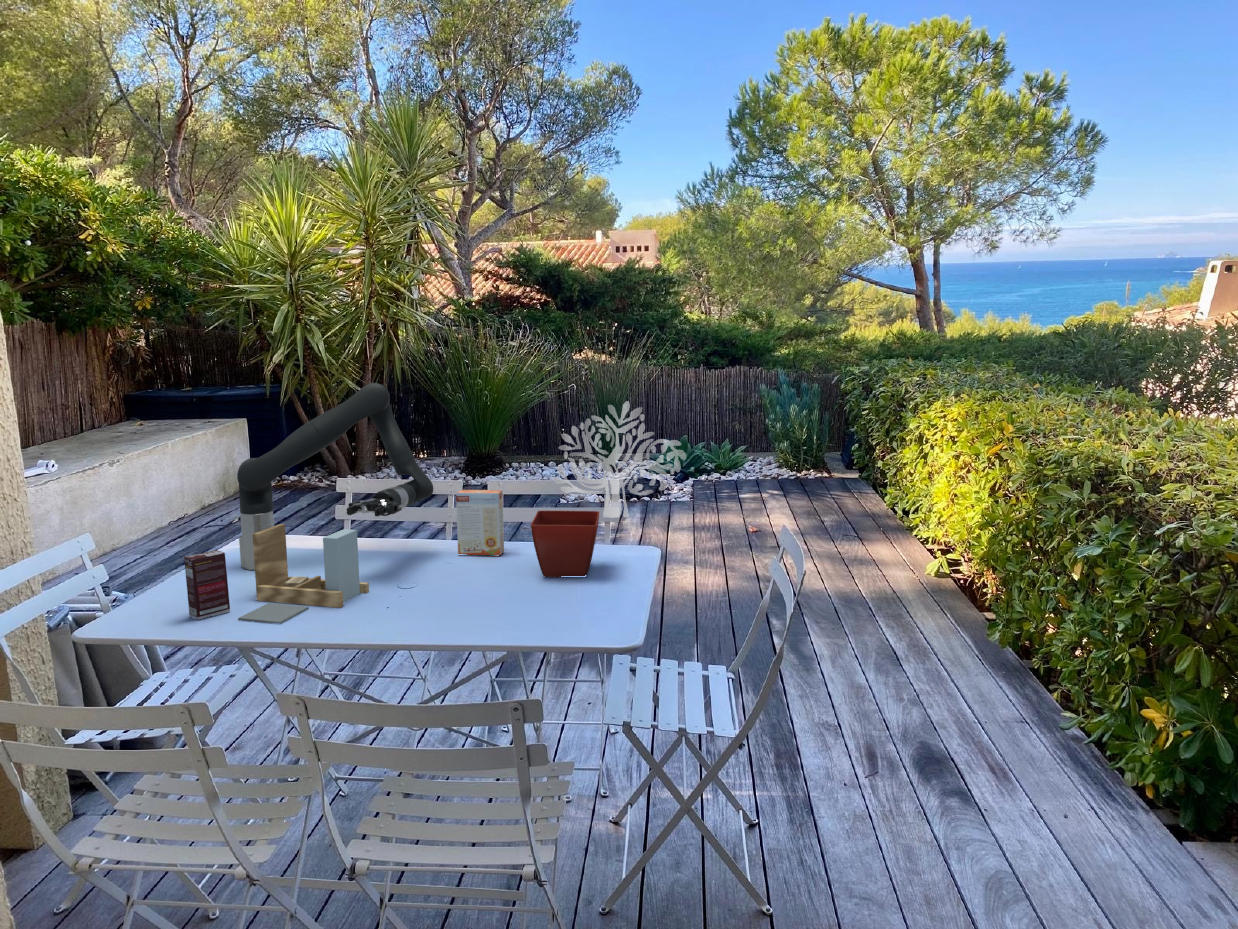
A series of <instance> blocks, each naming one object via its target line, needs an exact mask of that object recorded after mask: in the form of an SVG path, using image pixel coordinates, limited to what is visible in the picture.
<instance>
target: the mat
mask: <svg viewBox="0 0 1238 929" xmlns="http://www.w3.org/2000/svg"><path fill="white" fill-rule="evenodd" d="M309 609H310V608H309V606H307V605H295V604H284V603H273V602H267V603H266V604H264V605H262V606H260V607H258V608H256V609H253V610H252V611H249V612H247V613H245V614H243V615H241V616H239V617H238V618H237V620H238V621H240V620H247V621H246V622H251V621H254V622H255V623H263V624H272V623H282V624H284V623H285V622H288V621H289V620H291V619H293V618H295V617H296V616H299V615H300V614H302V613H304V612H306V611H308V610H309ZM254 622H253V623H254ZM283 622H284V623H283Z"/></svg>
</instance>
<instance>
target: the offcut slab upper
mask: <svg viewBox="0 0 1238 929" xmlns="http://www.w3.org/2000/svg"><path fill="white" fill-rule="evenodd" d="M292 577H293V578H291V579H290V580H288V581H287V582H286V583H285V587H295V586H297V585H299V584H301V583H303V582H306V581H308V578H309V576H292Z"/></svg>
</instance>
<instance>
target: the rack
mask: <svg viewBox="0 0 1238 929" xmlns="http://www.w3.org/2000/svg"><path fill="white" fill-rule="evenodd" d="M252 535H253V550H254V564H255V570H254V577H255V591H256V592H255V593H256V600H257V601H258V602H267V603H278V602H279V603H278V604H289V605H300V606H312V607H313V606H315V607H324V608H326V607H327V608H336V609H341V608H343V607H344V603H343V591H331V590H326V586H325V578H324V579H323V578H322V576H321V575H316V576H314V577H308V581H306V582H303V583H301V584H299V585H297V586H295V587H285V583H286V582H287V581H288V580H290V579H291V578H293V577H294V576H289V569H288V566H289V565H288V550H287V537H286V536H287V535H286V524H285V523H279V524H277V525H274V527H271V528H268V529H265V530H262V531H259V532H257V533H254V534H252ZM359 584H360V594H367V593H369V592H370V584H369V582H362V581H359Z"/></svg>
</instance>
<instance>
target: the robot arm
mask: <svg viewBox="0 0 1238 929" xmlns="http://www.w3.org/2000/svg"><path fill="white" fill-rule="evenodd" d="M390 401H391V399H390V393H389V391H388V389H387V387H385V386H384V385H383V384H380V383H378V382H371V383H368V384H365V385H364V386H362V388H360V389H359V390H358V391H356V392H355V393H354V394H353V395H351V396H350V397H349V398H347V399H346V400H345V401H343V402H342V403H340V404H339V405H337V406H336V407H333V408H330V409H329V410H327V411H325V412H324V413H322V414H319V415H318V416H315V417H314V418H313V419H311V420H308V422H306V423H304V424H303V425H302V426H300V427H298V428H297V429H296V430H294V431H293V432H292V433H291V434H289V435H288V436H287V437H286V438H285V439H284V440H283V441H282V442H281V443H279V444H278V445H277V446H275V447H274V448H273V449H271V450H270V451H268V452H266V453H264V454H263V455H262V454H261V456H259V457H251V458H248V459H245V460H244V461H243V462H241V463H240V465H239V467H238V470H237V472H236V473H237V474H236V478H237V479H236V480H237V481H238V492H239V493H238V494H239V512H240V513H239V514H240V515H239V516H240V526H241V527H240V528H241V536H239V537H238V541H239V544H238V545H239V556H240V558H239V559H240V568H243V569H244V570H245V569H246V570H248V571H249V570H250V571H255V564H254V550H253V535H252V534H254V533H257V532H259V531H262V530H265V529H268V528H271V527H274V526H275V519H274V504H273V503H274V502H273V500H274V499H273V487H272V486H273V484H272V482H273V481H275V480H276V479H277V478H278V477H279V476H281V475H282V474H283V473H284V472H286V471H288V470H289V469H290V468H292V467H294V466H296V465H298V464H300V463H301V462H304V461H306V460H307V459H309V458H310V457H312V456H314V455H316V454H318V453H319V452H321V451H323V450H324V449H326V448H327V447H328V446H330V445H331V444H333V443H334V442H336V441H337V440H339V438H341V437H342V436H343V435H344V434H345V433H346V432H348V430H349V429H351V428H352V427H353V426H354V425H355V424H357V423H359V422H360V421H363V420H364V419H366V418H367V417H369V418H370V419H371V421H372V422H373V424H374V425H375V428H376V429H377V431H378V434H379V436H380V439H381V441H382V444H383V446H384V449H385V451H386V454H387V457H388V459H389V461H390V463H391V465H392V467H393V469H394V471H395V473H396V475H397V476H406V475H407V476H410V477H411V478H412V479H411V480H410V481H407V482H404V483H402V484H398V485H395V486H390V487H387V488H385V489H383V490H380V491H377V492H376V493H374V495H373V497H372V498H370V499H367V500H363V499H359V500H355V501H352V502H349V503H348V506H347V508H346V514H347V516H352V515H355V514H358V513H361V514H369V513H371V514H374V517H376V518H377V517H388V516H390V515H394V514H396V513H399V512H400V511H403V509H405V508H407V507H409V506H411V505H413V504H416V503H418V502H421V501H423V500H425V499H428V498H430V497H431V496H432V495H433V493H434V484H433V482H432V480H431V479H430V478H429V477H428V475H427V474H426V473H425V472H424V471H423V469H422V468H421V467H420V465H419V464H418V463H417V461H416V459H415V457H414V455H413V452H412V450H411V448H410V446H409V444H408V442H407V440H406V438H405V437H404V435H403V433H402V431H401V430H400V427H399V425H398V424H397V421H396V418H395V416H394V413H393V409H392V405H391V403H390Z"/></svg>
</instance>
